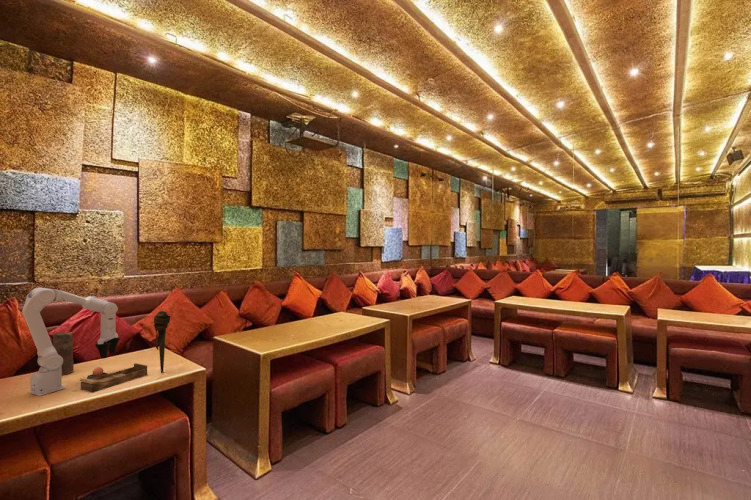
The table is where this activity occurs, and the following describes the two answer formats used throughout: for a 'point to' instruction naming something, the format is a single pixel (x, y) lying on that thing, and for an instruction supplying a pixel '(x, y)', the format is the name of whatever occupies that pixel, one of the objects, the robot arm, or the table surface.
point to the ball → (97, 371)
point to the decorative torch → (161, 334)
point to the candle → (64, 350)
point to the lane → (114, 378)
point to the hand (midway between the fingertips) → (108, 355)
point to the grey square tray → (95, 376)
